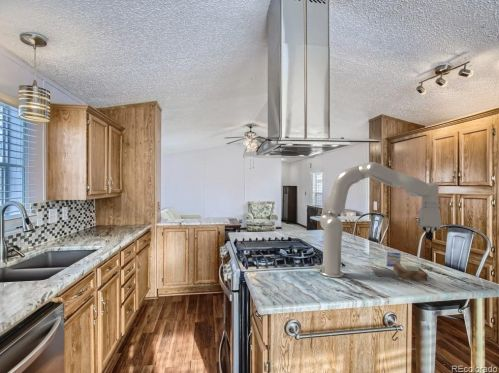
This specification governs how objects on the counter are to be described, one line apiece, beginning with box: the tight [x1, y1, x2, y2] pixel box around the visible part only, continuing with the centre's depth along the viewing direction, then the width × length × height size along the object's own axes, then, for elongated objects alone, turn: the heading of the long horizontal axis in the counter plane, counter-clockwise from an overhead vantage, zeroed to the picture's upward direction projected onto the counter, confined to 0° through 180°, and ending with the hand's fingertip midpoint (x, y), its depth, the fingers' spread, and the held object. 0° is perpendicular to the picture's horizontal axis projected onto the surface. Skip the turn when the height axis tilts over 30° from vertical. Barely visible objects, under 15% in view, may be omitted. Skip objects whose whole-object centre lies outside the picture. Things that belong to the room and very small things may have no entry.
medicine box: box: [384, 250, 402, 268], centre depth 170 cm, size 8×4×9 cm, turn 76°
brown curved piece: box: [392, 263, 429, 282], centre depth 151 cm, size 12×16×4 cm
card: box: [400, 260, 420, 271], centre depth 151 cm, size 6×9×2 cm, turn 167°
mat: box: [371, 267, 400, 279], centre depth 154 cm, size 11×14×1 cm
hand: (429, 239), depth 149 cm, fingers closed
